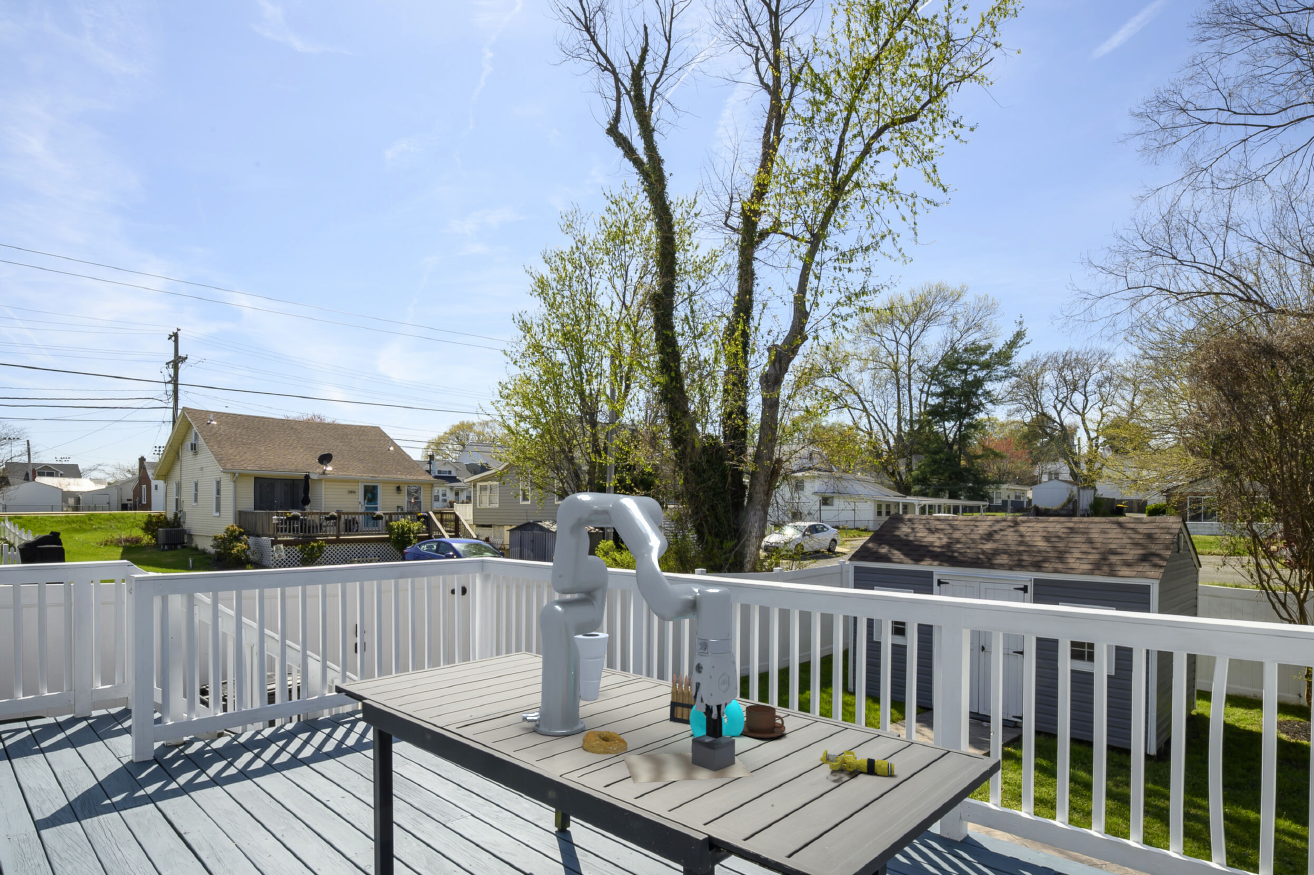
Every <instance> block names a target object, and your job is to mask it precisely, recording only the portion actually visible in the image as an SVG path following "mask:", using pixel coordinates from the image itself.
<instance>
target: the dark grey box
mask: <svg viewBox="0 0 1314 875" xmlns="http://www.w3.org/2000/svg"><path fill="white" fill-rule="evenodd" d="M691 752H692V764H694V765H697V766H700V767H703V768H706V769H709V770H712V771H715V772H716V771H718V770H721V769H724V768H726V767H729V766H731V765H734V764H735V756H736V739H735V738H732V737H730V736H727V735H724V736H722V737H720V738H717V739H716V738H712V737H709V736H707V735H706V734H705V735H702V736H699V737H694V738H691Z"/></svg>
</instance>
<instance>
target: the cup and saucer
mask: <svg viewBox="0 0 1314 875" xmlns="http://www.w3.org/2000/svg"><path fill="white" fill-rule="evenodd" d="M776 710H777V709H776V708H775V707H773V706H770V705H765V704H752V705H748V706H745V719H744V728H743V730H742V733H741V734H742V735H744V736H747V737H752V738H755V739H756V738H757V739H771V738H776V737H779V736H781V735H783V734H784V733H785V732H786V726H785V720H784V718H783V717H782V716H781V715H778V714H777V713H776ZM777 719H779V720H780V722H777V721H776V720H777Z"/></svg>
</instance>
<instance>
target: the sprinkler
mask: <svg viewBox="0 0 1314 875" xmlns="http://www.w3.org/2000/svg"><path fill="white" fill-rule="evenodd" d="M846 755H853V756H846ZM819 760H820V762H822V763H823V764H824V765H829V769H830V770H833V771H838V770H839V769H841V770H846V771H848V772H853V771H854V770H858V771H860V772H862V773H867V774H868V775H873V774H874V775H875V774H876V775H877V776H883V775H884V776H885V777H888V776H891V777H892V776H894V775H895V763H892V762H888V761H887V760H884V759H883V760H882V759H879V758H877V760H876V759H875V758H870V757H867V758H860V759H857V757H856V753H855V751H853V750H845V749H844V750H843V754H842V755H838V754H833V753H828V749H824V751H823V753H822V756H821V757H820V759H819ZM874 775H873V776H874Z"/></svg>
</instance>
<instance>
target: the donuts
mask: <svg viewBox="0 0 1314 875" xmlns="http://www.w3.org/2000/svg"><path fill="white" fill-rule="evenodd" d="M695 706H696V704H695ZM695 706H694V707H693V709H692V711H691V714H690V725H689V726H690V730H691V733H692V734H693V736H694V738H696V737H699V736H702V735H705V734H706V717H705V716H704V713H703V712H701V711H697V710H695ZM724 716H725V717H726V720H725V717H724ZM724 716H723V717H722V731H723V736H726V737H740V735H741V734H742V730H743V728H744V721H745V714H744V711H743V709H742V706H741V704H740V703H739V702H738V701H737V700H736V698H735V699H734V700H732V702H731V703H730V704H729V705H727V706H726V708H725V714H724Z"/></svg>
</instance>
